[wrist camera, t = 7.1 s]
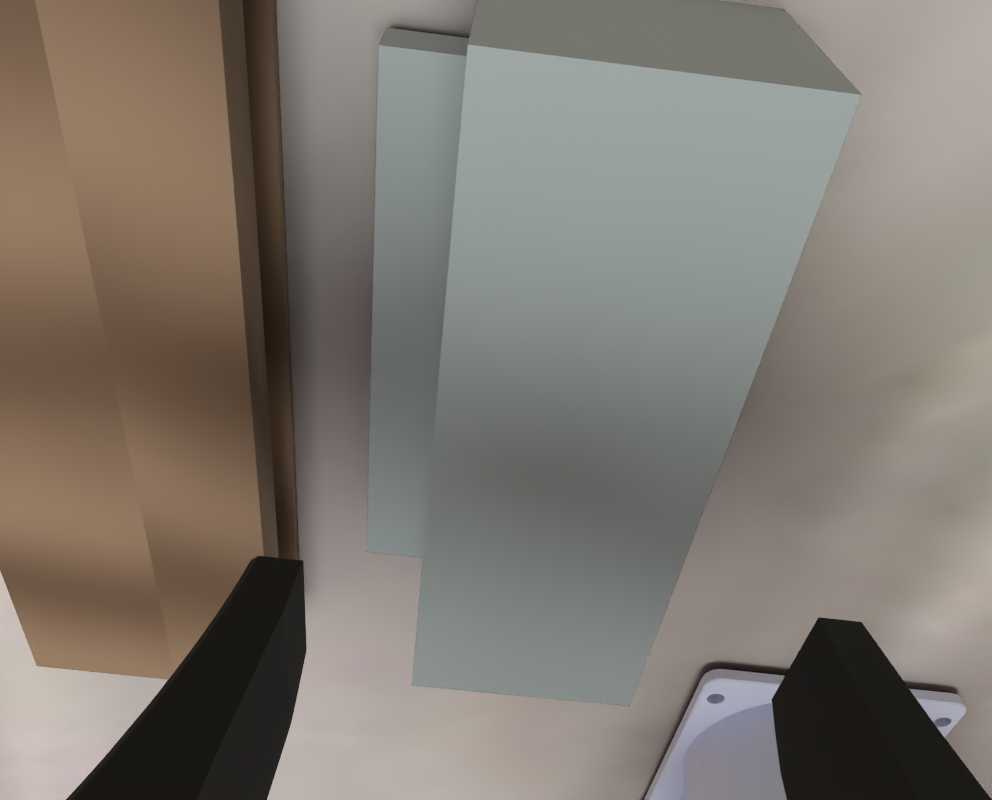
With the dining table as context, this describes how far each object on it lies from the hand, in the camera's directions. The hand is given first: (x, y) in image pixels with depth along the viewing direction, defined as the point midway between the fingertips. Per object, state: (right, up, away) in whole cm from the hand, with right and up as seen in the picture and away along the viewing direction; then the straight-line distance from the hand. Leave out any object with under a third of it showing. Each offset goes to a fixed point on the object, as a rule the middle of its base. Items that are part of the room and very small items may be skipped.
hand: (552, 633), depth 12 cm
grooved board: (-8, +5, +6) cm, 12 cm away
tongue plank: (+1, +5, +6) cm, 8 cm away
